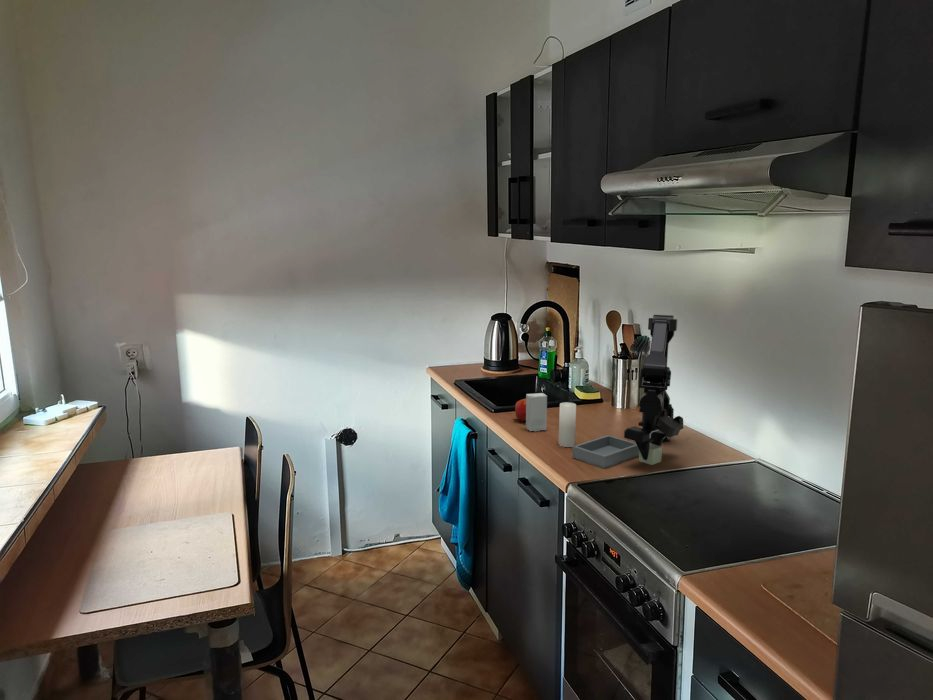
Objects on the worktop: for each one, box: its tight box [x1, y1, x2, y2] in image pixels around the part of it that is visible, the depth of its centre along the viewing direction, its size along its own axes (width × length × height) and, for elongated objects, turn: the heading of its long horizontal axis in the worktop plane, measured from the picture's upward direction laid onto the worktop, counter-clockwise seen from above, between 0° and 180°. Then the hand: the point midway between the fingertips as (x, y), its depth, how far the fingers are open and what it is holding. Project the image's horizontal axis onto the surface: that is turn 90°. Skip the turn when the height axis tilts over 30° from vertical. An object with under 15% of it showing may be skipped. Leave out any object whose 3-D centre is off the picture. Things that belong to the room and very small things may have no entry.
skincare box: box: [525, 392, 548, 432], centre depth 226 cm, size 6×4×12 cm
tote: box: [571, 434, 639, 469], centre depth 201 cm, size 17×12×4 cm
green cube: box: [638, 443, 663, 466], centre depth 197 cm, size 4×4×4 cm
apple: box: [514, 398, 526, 422], centre depth 236 cm, size 8×8×8 cm
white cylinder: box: [558, 401, 577, 448], centre depth 211 cm, size 5×5×13 cm
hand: (650, 457), depth 198 cm, fingers closed on green cube, 4 cm apart
